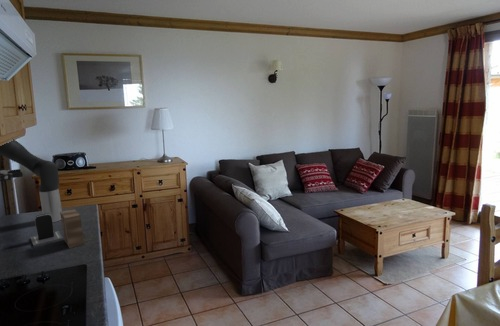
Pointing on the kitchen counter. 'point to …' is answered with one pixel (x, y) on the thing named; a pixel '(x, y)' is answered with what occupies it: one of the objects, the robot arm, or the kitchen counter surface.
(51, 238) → the charging pad
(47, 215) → the battery charger
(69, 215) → the brown rectangular block
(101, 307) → the kitchen counter surface
